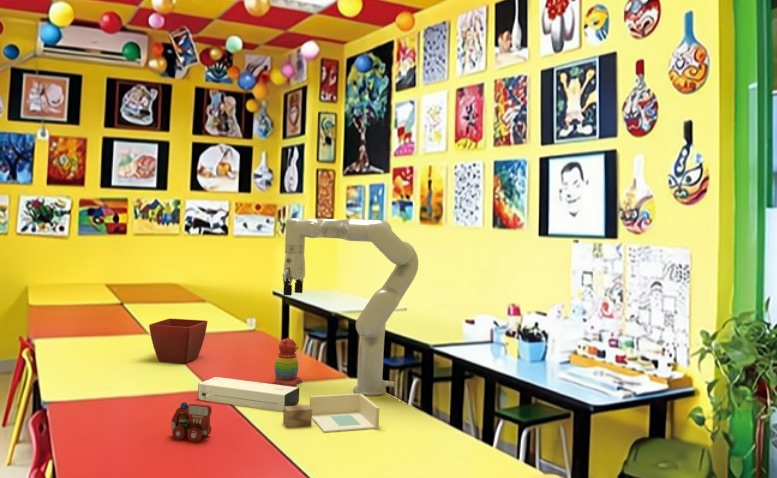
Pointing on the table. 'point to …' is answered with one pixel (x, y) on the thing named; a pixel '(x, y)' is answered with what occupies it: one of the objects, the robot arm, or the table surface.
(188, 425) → the toy fire truck
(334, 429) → the arena
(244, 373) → the table surface
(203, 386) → the laminator
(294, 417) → the block
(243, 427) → the table surface
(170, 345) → the plant pot
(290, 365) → the stacking bear
